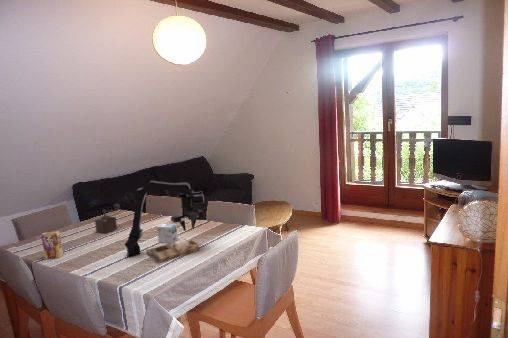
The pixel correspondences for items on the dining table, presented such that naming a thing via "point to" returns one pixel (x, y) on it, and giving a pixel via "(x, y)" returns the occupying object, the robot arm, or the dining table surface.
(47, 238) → the candy box
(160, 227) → the light bulb box
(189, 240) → the cubby
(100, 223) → the brown box
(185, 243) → the cream block
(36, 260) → the dining table surface
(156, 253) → the deck
